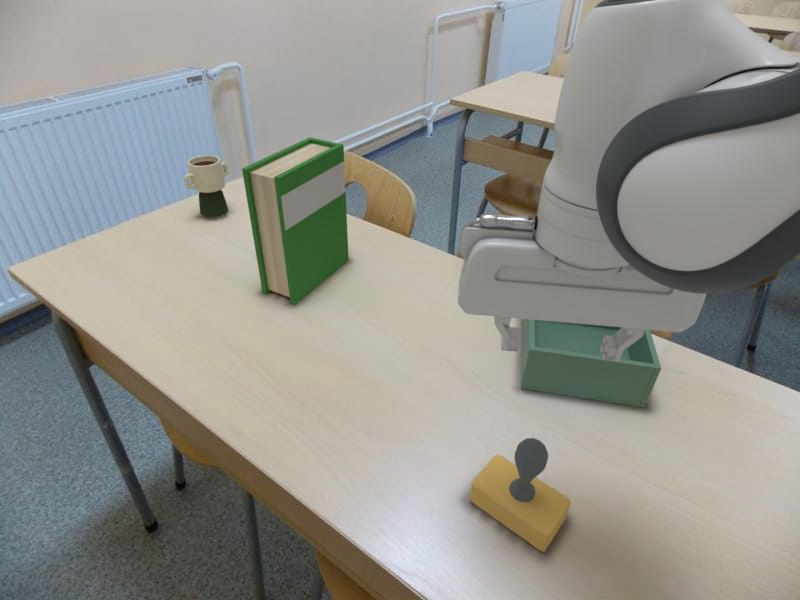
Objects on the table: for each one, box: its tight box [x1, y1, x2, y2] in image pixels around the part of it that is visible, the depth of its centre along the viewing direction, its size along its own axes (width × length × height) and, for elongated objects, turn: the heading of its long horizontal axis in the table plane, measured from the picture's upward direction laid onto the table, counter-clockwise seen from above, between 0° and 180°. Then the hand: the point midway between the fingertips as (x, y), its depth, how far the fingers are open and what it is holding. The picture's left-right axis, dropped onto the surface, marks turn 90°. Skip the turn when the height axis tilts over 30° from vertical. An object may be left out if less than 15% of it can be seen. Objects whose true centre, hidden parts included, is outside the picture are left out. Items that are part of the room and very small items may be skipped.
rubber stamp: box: [469, 437, 572, 553], centre depth 58 cm, size 10×6×12 cm, turn 50°
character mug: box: [183, 154, 229, 218], centre depth 117 cm, size 11×7×13 cm, turn 142°
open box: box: [520, 319, 662, 409], centre depth 81 cm, size 18×18×8 cm
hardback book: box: [241, 136, 350, 305], centre depth 94 cm, size 18×7×24 cm, turn 151°
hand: (558, 351), depth 49 cm, fingers open, 8 cm apart
